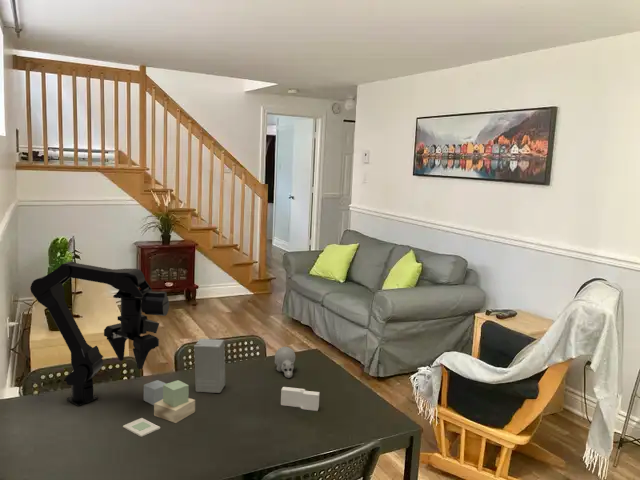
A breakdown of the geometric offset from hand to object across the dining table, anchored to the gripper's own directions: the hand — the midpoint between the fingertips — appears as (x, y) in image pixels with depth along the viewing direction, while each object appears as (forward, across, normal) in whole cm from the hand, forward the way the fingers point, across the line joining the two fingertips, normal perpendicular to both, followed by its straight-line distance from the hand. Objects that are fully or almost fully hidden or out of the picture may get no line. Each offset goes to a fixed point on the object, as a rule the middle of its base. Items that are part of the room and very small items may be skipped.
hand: (130, 364), depth 157 cm
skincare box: (+12, -10, -22) cm, 27 cm away
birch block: (+12, -15, -4) cm, 20 cm away
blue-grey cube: (+12, -4, -6) cm, 14 cm away
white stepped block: (+12, -39, -32) cm, 52 cm away
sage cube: (+8, -15, -4) cm, 18 cm away
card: (+12, -15, +7) cm, 20 cm away
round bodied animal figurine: (+12, -19, -49) cm, 54 cm away
